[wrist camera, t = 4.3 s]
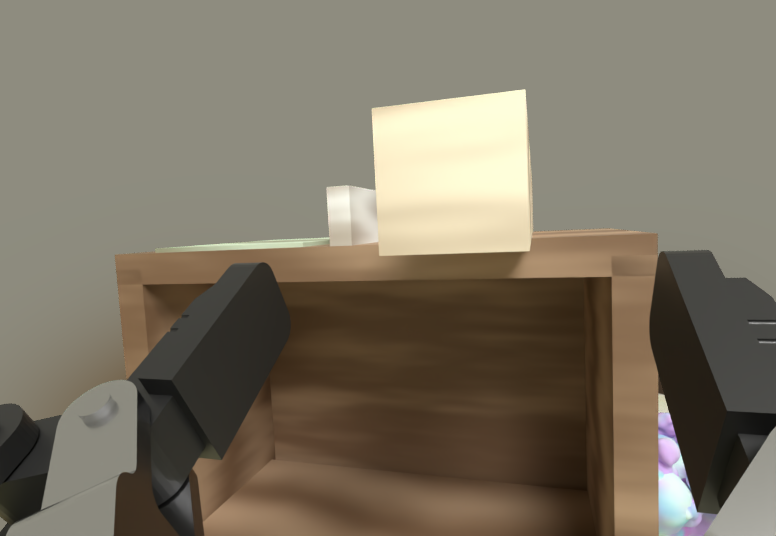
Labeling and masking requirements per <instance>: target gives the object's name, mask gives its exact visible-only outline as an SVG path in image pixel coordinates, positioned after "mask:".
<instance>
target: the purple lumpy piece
mask: <svg viewBox="0 0 776 536" xmlns="http://www.w3.org/2000/svg"><path fill="white" fill-rule="evenodd" d="M658 477H659V536H704V534H705V533H706V531H707V530H708V528H709V527H710V525H711V524H712V522H713V521H714V519H715V517H716V516H717V514H708V513H699V512H697V510H696V507H695V503H694V500H693V496H692V492H691V489H690V485H689V482H688V478H687V474H686V471H685V467H684V464H683V460H682V456H681V453H680V449H679V446H678V442H677V438H676V435H675V431H674V428H673V424H672V420H671V417H670V414H669V413H662V412H661V413H658Z"/></svg>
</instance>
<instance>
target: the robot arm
mask: <svg viewBox="0 0 776 536" xmlns="http://www.w3.org/2000/svg"><path fill="white" fill-rule="evenodd" d="M181 316H182V317H181V318H178V319H177V321H176V322H175V323H174V324H173V325H172V327H171V328H170V332H167V333H166V334H165V335H164V336H163V337H162V339H161V340H160V341H159V342H158V343H157V344H156V346H155V347H154V348H153V349H152V350H151V352H150V353H149V354H148V355H147V356H146V358H145V359H144V360H143V361H142V362H141V364H140V365H139V366H138V367H137V368H136V369H135V371H134V372H133V373H132V374H131V375H130V377H129V378H128V379H127V380H115V381H110V382H106V383H104V384H101V385H99V386H96V387H94V388H93V389H91V390H89V391H87V392H86V393H84V394H83V395H81V396H80V397H79V398H78V399H76V400H75V401H74V402H73V403H72V404H71V405H70V406H69V407H68V408H67V409H66V410H65V412H64V413H63V415H59V416H54V417H50V418H46V419H41V420H37V421H33V420H32V419H31V418H30V417H29V416H28V415H27V414H26V413H25V411H24V410H23V409H22V408H21V407H20V406H19V405H16V404H3V405H0V517H1V518H3V519H4V520H5V521H6V522H7V524H6V525H5V527H4V528H3V529H2V530H1V532H0V536H204V528H203V519H202V511H201V502H200V494H199V485H198V478H197V475H196V473H195V471H194V470H193V466H194V465H195V463H196V461H197V460H198V458H206V459H216V460H222V459H223V457H224V455H225V453H226V452H227V450H228V448H229V446H230V444H231V443H232V441H233V439H234V437H235V435H236V433H237V432H238V430H239V428H240V426H241V424H242V422H243V421H244V419H245V417H246V415H247V413H248V412H249V410H250V408H251V406H252V404H253V402H254V401H255V399H256V397H257V395H258V393H259V391H260V390H261V388H262V386H263V384H264V382H265V381H266V379H267V377H268V375H269V373H270V371H271V370H272V368H273V366H274V364H275V362H276V360H277V359H278V357H279V355H280V353H281V351H282V350H283V348H284V346H285V344H286V342H287V340H288V338H289V335H290V329H291V320H290V314H289V311H288V309H287V306H286V304H285V301H284V299H283V296H282V293H281V291H280V288H279V286H278V283H277V281H276V278H275V276H274V273H273V271H272V269H271V267H270V266H269V265H268V264H267V263H264V262H259V263H234V264H232V265H231V266H230V267H229V268H228V269H227V270H226V271H225V273H224V274H223V275H222V276H221V277H220V279H219V280H218V281H217V282H216V284H215V285H213V286H212V287H210V288H209V289H208V290H206V291H205V292H204V293H202V294H201V295H200V296H198V297H197V298H195V299H194V300H193V302H192V303H191V304H190V305H189V306H188V308H187V309H186V310H185V311H184V312H183V314H182V315H181ZM649 333H650V343H651V348H652V352H653V356H654V359H655V363H656V366H657V370H658V374H659V377H660V381H661V384H662V388H663V391H664V395H665V399H666V402H667V406H668V410H669V413H670V417H671V420H672V424H673V428H674V431H675V435H676V438H677V442H678V446H679V449H680V453H681V456H682V460H683V464H684V467H685V471H686V474H687V478H688V482H689V485H690V489H691V492H692V496H693V500H694V503H695V507H696V510H697V512H699V513H708V514H717V516H716V517H715V519H714V521H713V522H712V524H711V525H710V527H709V528H708V530H707V531H706V533H705V534H704V536H776V302H775V301H774V299H773V298H772V297H771V296H770V295H769V294H767V293H766V292H765V291H763V290H762V289H760V288H759V287H758V286H756V285H755V284H753V283H752V282H751V281H749V280H748V279H747V278H725V277H724V275H723V273H722V271H721V269H720V268H719V265H718V263H717V262H716V260H715V258H714V256H713V254H712V253H711V252H710V251H709V250H698V251H697V250H694V251H663V252H661V253H660V254H659V257H658V261H657V267H656V274H655V281H654V289H653V296H652V303H651V310H650V318H649Z"/></svg>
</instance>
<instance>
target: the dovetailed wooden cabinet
mask: <svg viewBox="0 0 776 536" xmlns="http://www.w3.org/2000/svg"><path fill="white" fill-rule="evenodd" d="M327 204H328V221H329V238H309V239H288V240H287V239H286V240H267V241H254V242H239V243H226V244H212V245H200V246H186V247H172V248H159V249H155V252H143V253H132V254H118V255H115V262H116V272H117V283H118V294H119V304H120V315H121V325H122V336H123V346H124V357H125V368H126V377H127V379H128V378H129V377H130V375H131V374H132V373H133V372H134V371H135V369H136V368H137V367H138V366H139V365H140V364H141V362H142V361H143V360H144V359H145V358H146V356H147V355H148V354H149V353H150V352H151V350H152V349H153V348H154V347H155V346H156V344H157V343H158V342H159V341H160V340H161V339H162V337H163V336H164V335H165V334H166V333H167V332H170V328H171V327H172V325H173V324H174V323H175V322H176V321H177V319H178V318H181V317H182V316H181V315H182V314H183V312H184V311H185V310H186V309H187V308H188V306H189V305H190V304H191V303H192V302H193V300H194V299H195V298H197V297H198V296H200V295H201V294H202V293H204V292H205V291H206V290H208V289H209V288H210V287H212V286H213V285H215V284H216V282H217V281H218V280H219V279H220V277H221V276H222V275H223V274H224V273H225V271H226V270H227V269H228V268H229V267H230V266H231V265H232V264H234V263H259V262H264V263H267V264H268V265H269V266H270V267H271V269H272V271H273V273H274V276H275V278H276V281H277V283H278V286H279V288H280V291H281V293H282V296H283V299H284V301H285V304H286V306H287V309H288V311H289V314H290V320H291V329H290V335H289V338H288V340H287V342H286V344H285V346H284V348H283V350H282V351H281V353H280V355H279V357H278V359H277V360H276V362H275V364H274V366H273V368H272V370H271V371H270V373H269V375H268V377H267V379H266V381H265V382H264V384H263V386H262V388H261V390H260V391H259V393H258V395H257V397H256V399H255V401H254V402H253V404H252V406H251V408H250V410H249V412H248V413H247V415H246V417H245V419H244V421H243V422H242V424H241V426H240V428H239V430H238V432H237V433H236V435H235V437H234V439H233V441H232V443H231V444H230V446H229V448H228V450H227V452H226V453H225V455H224V457H223V459H222V460H216V459H206V458H198V460H197V461H196V463H195V465H194V466H193V470H194V471H195V473H196V475H197V478H198V485H199V494H200V502H201V511H202V519H203V528H204V536H659V477H658V370H657V366H656V363H655V359H654V356H653V352H652V348H651V343H650V333H649V318H650V310H651V303H652V296H653V289H654V281H655V274H656V267H657V261H658V253H657V252H658V244H657V243H658V242H657V241H658V239H657V238H658V237H657V235H658V234H656V233H647V232H638V231H628V230H619V229H610V228H606V229H583V230H560V231H559V230H558V231H537V232H536V231H535V232H533V234H532V239H531V245H530V251H519V252H488V253H457V254H426V255H394V256H379V241H378V221H377V202H376V190H370V189H365V188H360V187H354V186H349V185H348V186H335V187H327Z"/></svg>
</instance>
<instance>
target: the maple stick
mask: <svg viewBox="0 0 776 536" xmlns="http://www.w3.org/2000/svg"><path fill="white" fill-rule="evenodd" d="M372 121H373V141H374V162H375V180H376V181H375V182H376V202H377V221H378V241H379V256H394V255H426V254H457V253H488V252H519V251H530V245H531V239H532V234H533V206H532V175H531V161H530V148H529V134H528V120H527V106H526V92H525V90H518V91H510V92H501V93H493V94H485V95H477V96H468V97H461V98H452V99H445V100H436V101H428V102H420V103H412V104H404V105H396V106H387V107H379V108H372Z"/></svg>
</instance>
